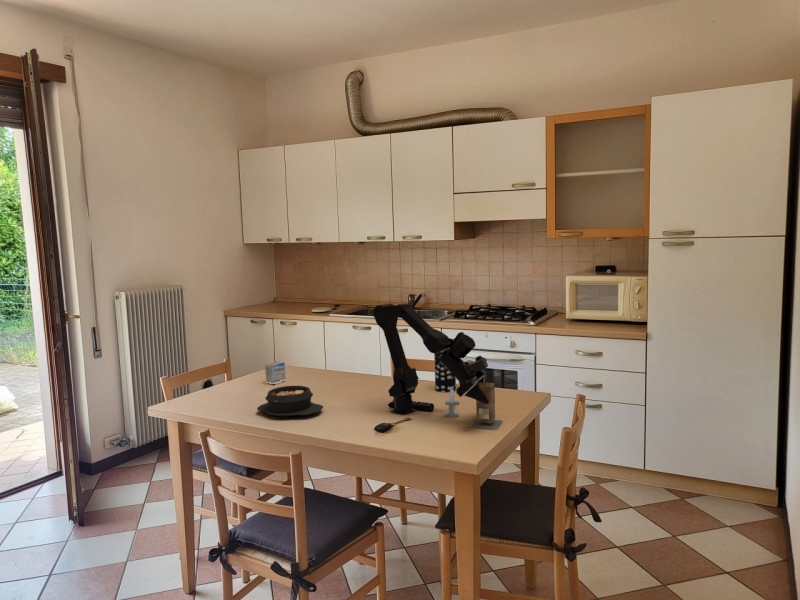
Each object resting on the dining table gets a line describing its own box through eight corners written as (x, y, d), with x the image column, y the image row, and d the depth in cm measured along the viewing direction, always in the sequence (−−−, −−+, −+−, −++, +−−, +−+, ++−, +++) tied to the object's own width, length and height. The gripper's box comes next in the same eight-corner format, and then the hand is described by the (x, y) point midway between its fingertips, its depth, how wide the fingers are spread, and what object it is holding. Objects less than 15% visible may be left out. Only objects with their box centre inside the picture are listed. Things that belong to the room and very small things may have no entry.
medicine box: (273, 385, 260) (272, 365, 259) (265, 384, 263) (264, 364, 262) (286, 381, 267) (285, 362, 266) (278, 380, 269) (277, 361, 268)
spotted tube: (453, 392, 237) (451, 343, 235) (432, 391, 240) (431, 342, 237) (458, 387, 245) (456, 339, 243) (438, 386, 247) (436, 338, 245)
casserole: (246, 417, 214) (244, 394, 214) (276, 403, 231) (275, 382, 231) (305, 423, 204) (304, 399, 204) (333, 408, 221) (331, 386, 221)
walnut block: (476, 422, 195) (475, 386, 193) (480, 417, 200) (479, 382, 198) (491, 423, 193) (491, 387, 192) (495, 418, 198) (494, 383, 196)
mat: (469, 427, 194) (469, 426, 194) (476, 419, 202) (476, 418, 202) (497, 429, 191) (497, 428, 191) (502, 421, 199) (502, 420, 199)
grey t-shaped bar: (458, 417, 205) (458, 402, 205) (444, 417, 206) (443, 403, 205) (459, 402, 223) (458, 389, 222) (445, 402, 224) (445, 389, 223)
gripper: (465, 355, 187) (501, 392, 184) (479, 344, 204) (512, 378, 201) (441, 378, 190) (476, 415, 187) (457, 366, 208) (489, 399, 205)
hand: (489, 400), depth 195 cm, fingers closed on walnut block, 5 cm apart
